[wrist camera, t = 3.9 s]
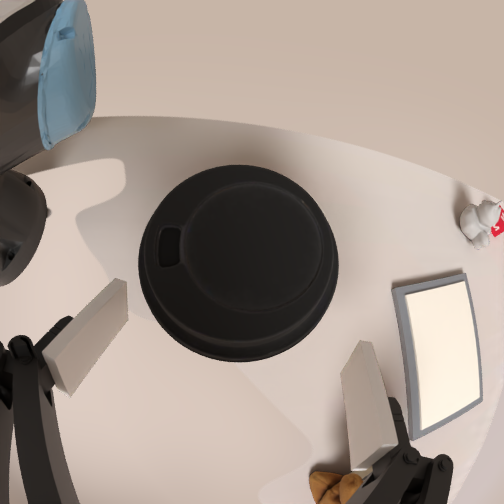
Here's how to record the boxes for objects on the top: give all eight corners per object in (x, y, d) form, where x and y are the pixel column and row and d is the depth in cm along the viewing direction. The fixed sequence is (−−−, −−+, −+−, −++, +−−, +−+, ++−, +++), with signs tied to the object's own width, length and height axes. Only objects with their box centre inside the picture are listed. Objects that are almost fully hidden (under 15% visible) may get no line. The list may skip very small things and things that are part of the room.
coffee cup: (168, 286, 25) (100, 207, 11) (254, 240, 28) (272, 128, 14) (218, 376, 23) (193, 408, 9) (307, 323, 25) (390, 280, 11)
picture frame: (391, 289, 27) (396, 287, 26) (461, 274, 28) (467, 272, 27) (408, 439, 21) (414, 441, 20) (478, 400, 22) (484, 401, 21)
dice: (488, 213, 32) (499, 204, 29) (498, 227, 31) (509, 219, 28) (484, 222, 31) (496, 214, 28) (494, 237, 30) (506, 229, 28)
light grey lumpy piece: (473, 216, 31) (506, 189, 24) (481, 257, 29) (520, 235, 21) (450, 208, 31) (484, 178, 24) (458, 252, 29) (498, 227, 21)
